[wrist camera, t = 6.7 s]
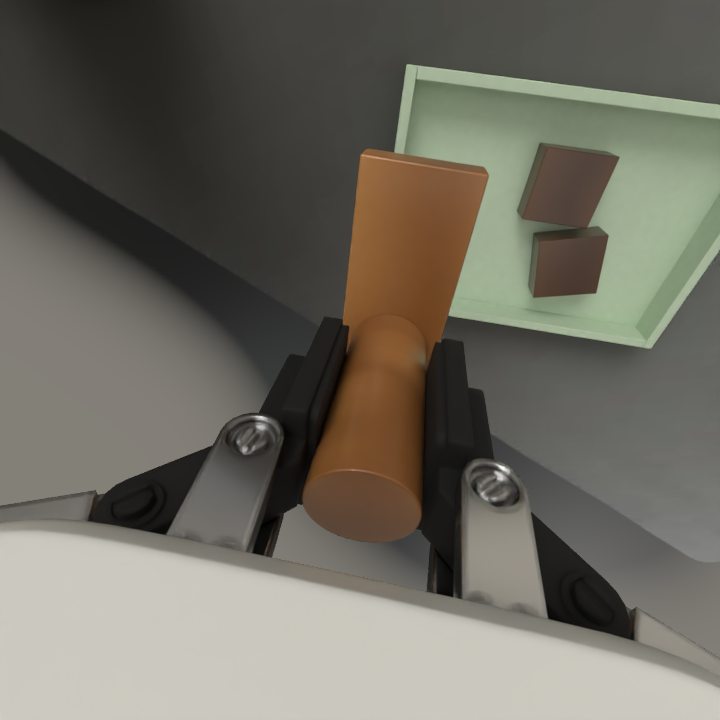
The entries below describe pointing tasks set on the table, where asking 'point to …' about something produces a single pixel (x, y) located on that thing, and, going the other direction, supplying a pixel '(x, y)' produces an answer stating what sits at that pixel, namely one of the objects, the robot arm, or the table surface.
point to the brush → (391, 341)
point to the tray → (613, 214)
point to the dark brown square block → (566, 184)
